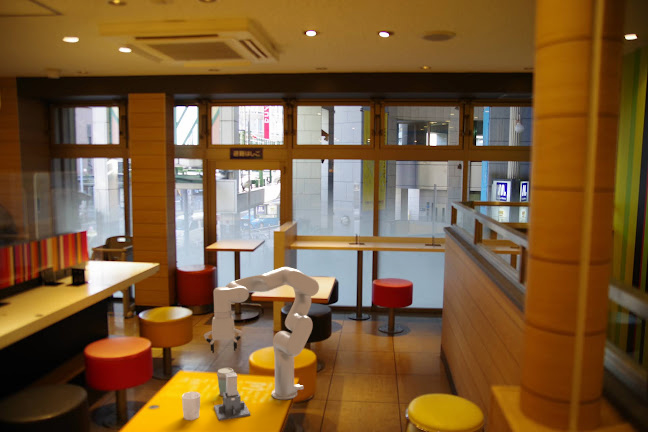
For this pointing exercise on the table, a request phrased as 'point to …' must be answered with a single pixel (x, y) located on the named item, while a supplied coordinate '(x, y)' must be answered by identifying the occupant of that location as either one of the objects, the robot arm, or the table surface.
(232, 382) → the post
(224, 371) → the coffee cup
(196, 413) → the white cup
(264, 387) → the table surface
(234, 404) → the stand base
